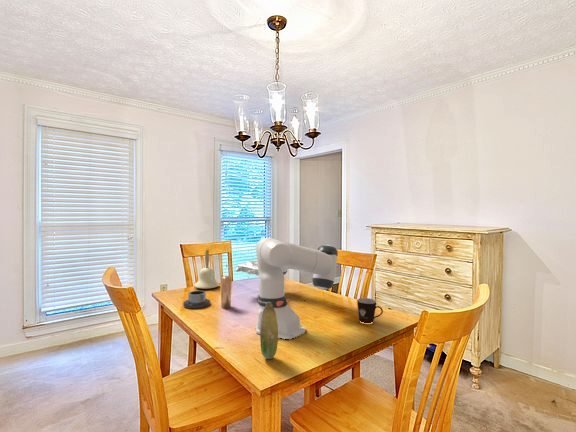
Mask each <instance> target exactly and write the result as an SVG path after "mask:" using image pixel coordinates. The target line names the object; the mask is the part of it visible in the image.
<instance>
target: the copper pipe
mask: <svg viewBox="0 0 576 432" xmlns="http://www.w3.org/2000/svg"><path fill="white" fill-rule="evenodd" d="M220 280H221V281H220V283H221V284H220V286H221V287H220V288H221V289H220V295H221V296H220V297H221V298H220V308H221V309H222V310H224V309H225V310H226V309H231V307H232V277H231V276H230V275H223V276H221V278H220Z"/></svg>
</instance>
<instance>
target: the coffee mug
mask: <svg viewBox="0 0 576 432" xmlns="http://www.w3.org/2000/svg"><path fill="white" fill-rule="evenodd" d="M356 301H357V312H358V321H359V320H360V321H361V322H364V323H371V322H373V321H375V319H376V318H378V317H380V316H381V315H383V314H384V311H383V308H382V307H381V306H377V300H376V299H374V298H368V297H360V298H357V300H356ZM377 308H378V309H379V310H380V311H381V312H380V314H378V315H376V309H377ZM373 323H374V322H373Z"/></svg>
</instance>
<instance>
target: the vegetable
mask: <svg viewBox="0 0 576 432" xmlns="http://www.w3.org/2000/svg"><path fill="white" fill-rule="evenodd" d="M259 338H260V339H259V340H260V351H261V355H262V357H263V358H264V359H266V360H271V359H273V358H274V357H275V356H276V353H277V350H278V342H279V338H278V324H277V317H276V312H275V310H274V307H273V304H272V303H271V302H267V303H266V305H265V308H264V310H263V312H262V317H261V327H260V334H259Z"/></svg>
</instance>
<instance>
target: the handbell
mask: <svg viewBox="0 0 576 432" xmlns="http://www.w3.org/2000/svg"><path fill="white" fill-rule="evenodd" d="M204 252H205V253H204V263H205V267H203V268H201V269H200V271H199V279H198V281H197V282H196V283H195V284H194V287H195V288H197V289H214V288H217V287H219V285H220V284H219V282H218V281H217V280H216V278H215V271H214V268H213V267H210V266H209V264H210V263H209V262H210V253H209V248H207V249H206V250H205V251H204Z"/></svg>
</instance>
